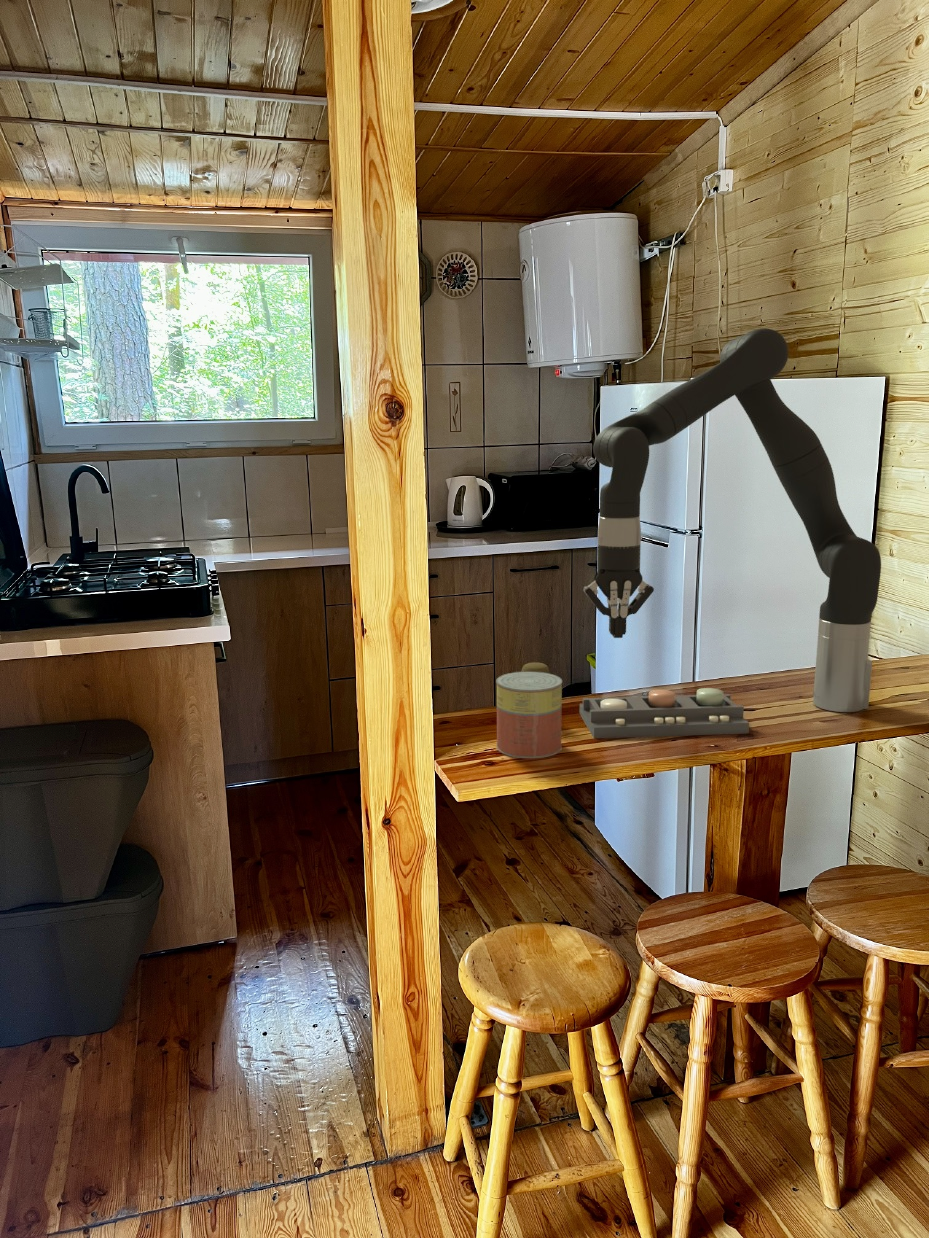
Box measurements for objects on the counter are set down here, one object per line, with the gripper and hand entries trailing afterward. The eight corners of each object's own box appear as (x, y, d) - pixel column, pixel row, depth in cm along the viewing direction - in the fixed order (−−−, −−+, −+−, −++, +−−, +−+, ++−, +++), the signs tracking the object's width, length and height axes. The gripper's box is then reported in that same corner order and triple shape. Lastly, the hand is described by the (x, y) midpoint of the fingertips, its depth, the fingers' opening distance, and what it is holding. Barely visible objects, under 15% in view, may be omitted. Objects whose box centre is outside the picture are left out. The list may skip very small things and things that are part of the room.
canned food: (530, 731, 168) (531, 667, 166) (575, 748, 160) (576, 681, 157) (483, 745, 161) (482, 679, 159) (526, 763, 153) (526, 694, 150)
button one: (623, 708, 173) (623, 698, 173) (629, 716, 169) (629, 706, 168) (597, 709, 173) (598, 699, 172) (603, 717, 168) (603, 706, 168)
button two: (718, 697, 174) (718, 687, 174) (726, 705, 169) (727, 695, 169) (692, 698, 174) (693, 688, 173) (700, 706, 169) (701, 695, 169)
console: (722, 709, 179) (723, 689, 179) (748, 733, 166) (749, 712, 165) (579, 713, 178) (579, 693, 177) (593, 738, 164) (594, 716, 163)
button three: (670, 699, 173) (671, 689, 173) (678, 707, 169) (678, 696, 168) (645, 700, 173) (646, 689, 173) (652, 707, 168) (652, 697, 168)
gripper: (650, 538, 168) (647, 631, 172) (578, 540, 167) (577, 633, 171) (661, 543, 161) (658, 640, 164) (586, 545, 160) (585, 643, 164)
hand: (617, 636), depth 168 cm, fingers closed
